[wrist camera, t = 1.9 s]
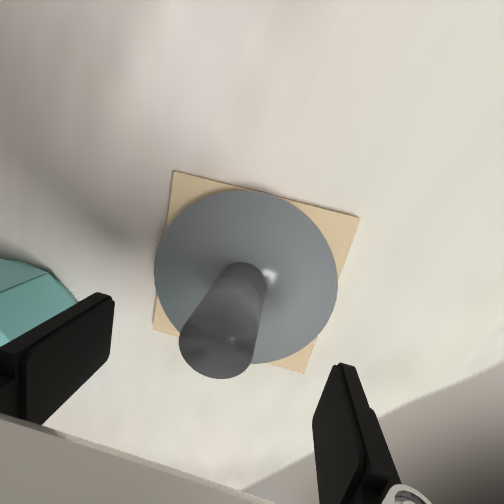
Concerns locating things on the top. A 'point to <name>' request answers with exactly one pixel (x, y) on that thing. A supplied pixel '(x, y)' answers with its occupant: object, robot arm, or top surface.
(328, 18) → the top surface
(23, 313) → the bowl
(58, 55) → the top surface
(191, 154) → the top surface
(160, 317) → the mat
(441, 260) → the top surface
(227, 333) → the lid
